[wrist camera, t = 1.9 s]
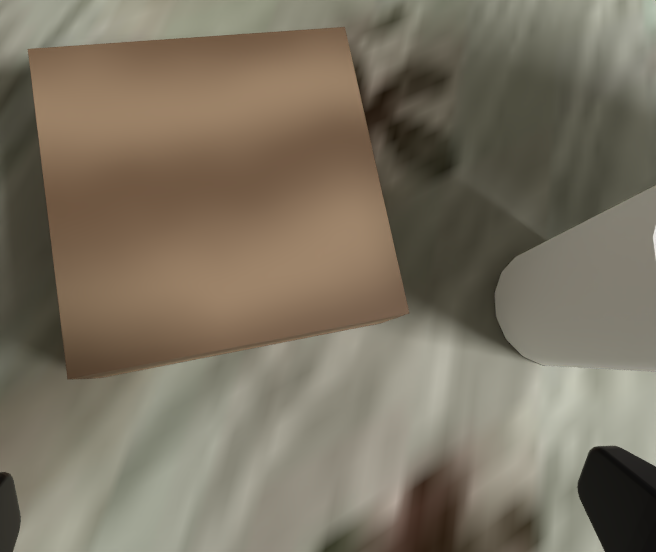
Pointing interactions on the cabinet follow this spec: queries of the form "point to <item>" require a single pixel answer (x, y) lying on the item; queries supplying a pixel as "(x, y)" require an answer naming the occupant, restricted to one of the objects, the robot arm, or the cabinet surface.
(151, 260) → the walnut block
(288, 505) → the cabinet surface
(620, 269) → the white cup
